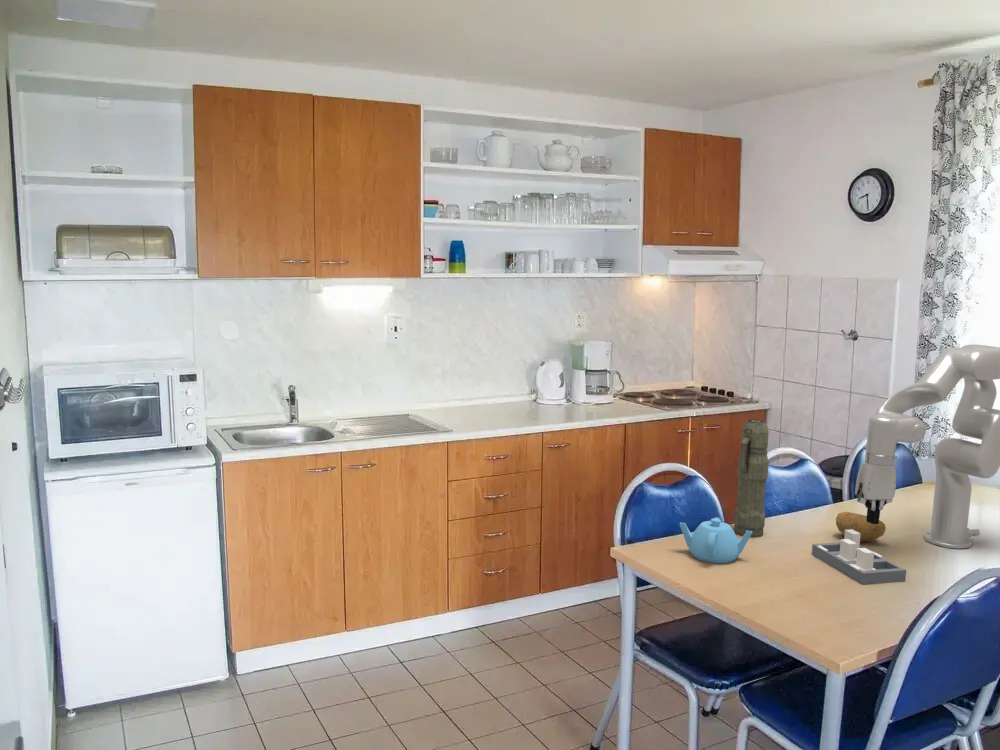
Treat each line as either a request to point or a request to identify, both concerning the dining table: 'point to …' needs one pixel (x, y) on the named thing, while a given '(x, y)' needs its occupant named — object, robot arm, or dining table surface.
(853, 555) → the tab
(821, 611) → the dining table surface
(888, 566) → the switch bank
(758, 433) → the thermos
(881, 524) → the potato
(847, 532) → the tab
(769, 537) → the dining table surface
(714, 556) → the teapot
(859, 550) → the tab
